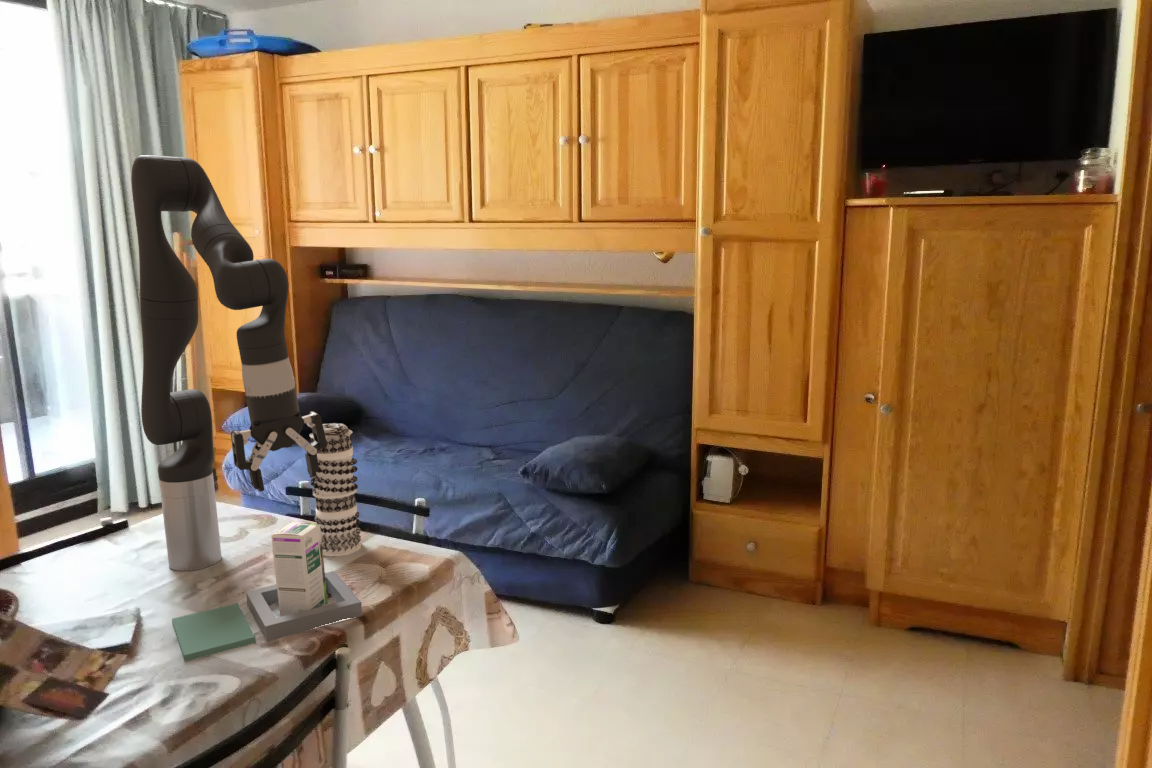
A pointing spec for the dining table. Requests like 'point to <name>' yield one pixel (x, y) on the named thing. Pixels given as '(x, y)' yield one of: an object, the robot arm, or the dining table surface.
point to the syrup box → (299, 567)
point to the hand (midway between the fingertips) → (286, 482)
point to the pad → (212, 631)
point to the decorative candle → (336, 492)
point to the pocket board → (306, 619)
